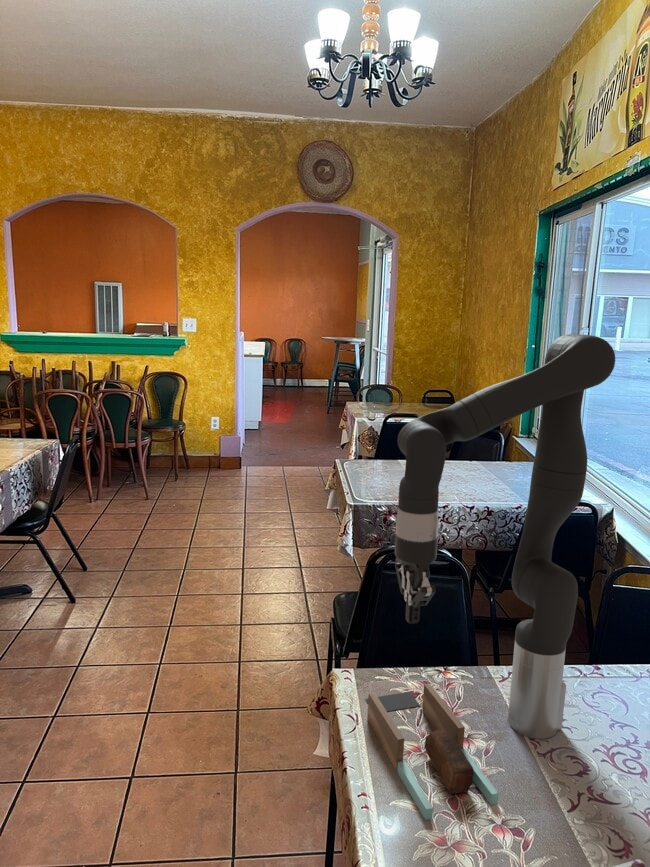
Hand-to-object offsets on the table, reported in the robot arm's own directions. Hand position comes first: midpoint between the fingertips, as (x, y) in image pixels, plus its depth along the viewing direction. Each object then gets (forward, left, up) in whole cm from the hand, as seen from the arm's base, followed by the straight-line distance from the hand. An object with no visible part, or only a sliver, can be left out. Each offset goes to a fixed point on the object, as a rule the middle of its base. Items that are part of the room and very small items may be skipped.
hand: (412, 621), depth 119 cm
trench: (0, +3, -22) cm, 22 cm away
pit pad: (0, -8, -22) cm, 23 cm away
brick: (0, +11, -23) cm, 25 cm away
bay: (0, +16, -22) cm, 27 cm away
